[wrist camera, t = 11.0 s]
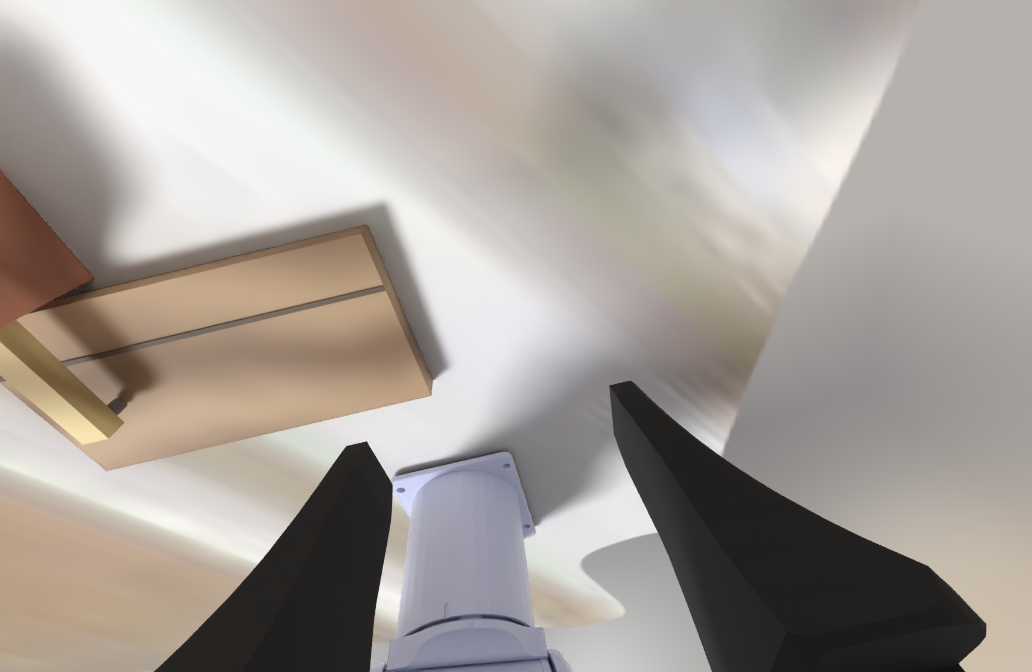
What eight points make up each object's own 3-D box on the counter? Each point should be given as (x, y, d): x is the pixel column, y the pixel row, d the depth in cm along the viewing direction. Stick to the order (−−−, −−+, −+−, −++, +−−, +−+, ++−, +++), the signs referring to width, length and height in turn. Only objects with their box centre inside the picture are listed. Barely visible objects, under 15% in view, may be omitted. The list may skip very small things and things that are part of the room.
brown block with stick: (185, 381, 21) (113, 458, 16) (110, 399, 21) (21, 480, 16) (-12, 154, 15) (-203, 185, 10) (-116, 180, 15) (-348, 220, 10)
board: (432, 381, 22) (431, 396, 21) (122, 453, 23) (105, 472, 21) (367, 224, 17) (360, 234, 16) (-29, 320, 18) (-60, 335, 17)
